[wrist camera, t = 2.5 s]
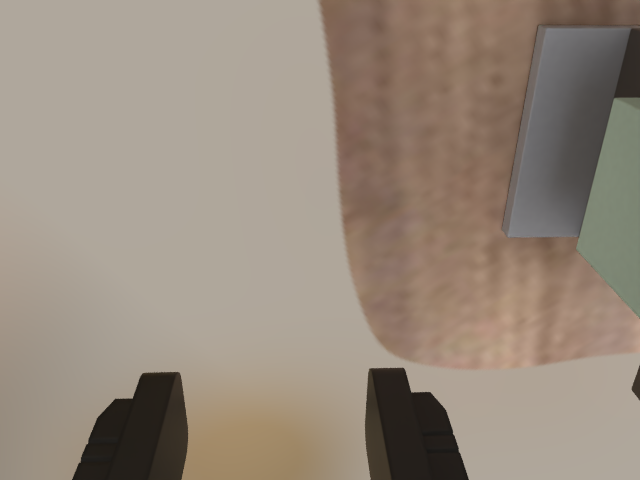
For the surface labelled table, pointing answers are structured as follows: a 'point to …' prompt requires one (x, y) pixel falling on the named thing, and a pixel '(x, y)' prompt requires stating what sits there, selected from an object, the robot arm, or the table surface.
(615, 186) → the push plate
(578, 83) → the box
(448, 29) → the table surface
